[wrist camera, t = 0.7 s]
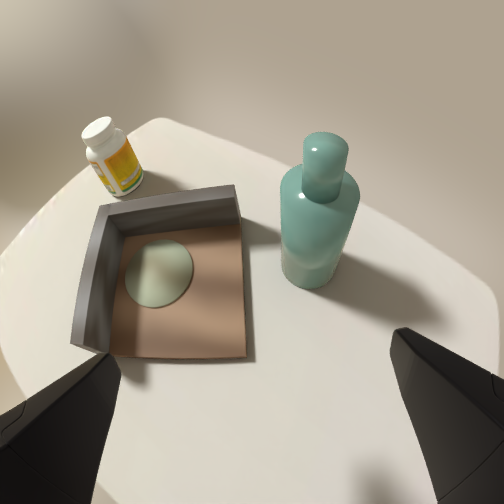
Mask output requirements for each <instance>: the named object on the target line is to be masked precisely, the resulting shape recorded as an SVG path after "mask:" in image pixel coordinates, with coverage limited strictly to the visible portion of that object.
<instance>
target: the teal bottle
mask: <svg viewBox="0 0 504 504" xmlns="http://www.w3.org/2000/svg"><path fill="white" fill-rule="evenodd" d="M347 155H348V144H347V143H346V141H345V140H344V139H342V138H341V137H339V136H338V135H335V134H333V133H328V132H316V133H312V134H310V135H308V136H307V137H306V138H305V140H304V147H303V164H300V165H297V166H295V167H293V168H292V169H290V170H289V171H288V172H287V173H286V174H285V175H284V177H283V179H282V181H281V185H280V200H281V265H282V270H283V273H284V275H285V277H286V278H287V279H288V280H289V281H290V282H291V283H292V284H294V285H295V286H297V287H300V288H304V289H315V288H319V287H321V286H323V285H325V284H326V283H328V282H329V281H330V280H331V278H332V277H333V275H334V272H335V270H336V267H337V265H338V262H339V259H340V256H341V254H342V251H343V248H344V245H345V243H346V240H347V237H348V234H349V231H350V228H351V225H352V222H353V219H354V216H355V213H356V210H357V207H358V204H359V200H360V191H359V187H358V185H357V183H356V181H355V180H354V179H353V177H352V176H351V175H350V174H349V173H347V172H346V171H345V165H346V160H347Z"/></svg>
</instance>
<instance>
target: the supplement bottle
mask: <svg viewBox="0 0 504 504" xmlns="http://www.w3.org/2000/svg"><path fill="white" fill-rule="evenodd" d="M82 139H83V141H84V142H85V144H86V145H87V146H88V147H87V150H86V156H87V159H88V160H89V162H90V164H91V165H92V167H93V169H94V170H95V172H96V173H97V175H98V176H99V178H100V180H101V181H102V183H103V184H104V186H105V187H106V189H107V190H108V191H109V193H110V194H111V195H113V196H124V195H126V194H129V193H130V192H132V191H133V190H134V189H136V188H137V187H138V186H139V185H140V183H141V181H142V179H143V175H144V173H143V170H142V168H141V166H140V164H139V161H138V159H137V157H136V155H135V153H134V151H133V149H132V147H131V145H130V143H129V141H128V139H127V137H126V135H125V133H124V132H123V131H122V130H120V129H115V124H114V122H113V120H112V119H111V117H102V118H99V119H97V120H95V121H94V122H92V123H91V124H90V125H88V126H87V127H86V128H85V130H84V131H83V133H82Z"/></svg>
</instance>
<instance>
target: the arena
mask: <svg viewBox="0 0 504 504" xmlns="http://www.w3.org/2000/svg"><path fill="white" fill-rule="evenodd" d="M70 344H73V345H75V346H78V347H80V348H83V349H85V350H88V351H91V352H93V353H96V354H98V353H100V352H105V353H111V354H112V355H113V356H116V357H131V358H151V359H226V358H247V348H246V327H245V304H244V281H243V257H242V231H241V214H240V210H239V205H238V200H237V195H236V191H235V186H234V184H233V185H225V186H217V187H209V188H201V189H194V190H187V191H180V192H174V193H167V194H161V195H155V196H149V197H143V198H138V199H132V200H127V201H121V202H116V203H111V204H106V205H101V206H99V209H98V213H97V216H96V219H95V222H94V226H93V229H92V233H91V236H90V240H89V244H88V248H87V252H86V256H85V260H84V264H83V269H82V273H81V278H80V283H79V288H78V293H77V299H76V305H75V311H74V317H73V324H72V332H71V341H70Z"/></svg>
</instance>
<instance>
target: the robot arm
mask: <svg viewBox="0 0 504 504" xmlns="http://www.w3.org/2000/svg"><path fill="white" fill-rule="evenodd" d="M390 357H391V361H392V364H393V367H394V371H395V374H396V378H397V381H398V385H399V389H400V392H401V396H402V398H403V401H404V404H405V406H406V409H407V411H408V414H409V417H410V419H411V422H412V425H413V427H414V430H415V433H416V436H417V438H418V441H419V444H420V447H421V450H422V453H423V456H424V459H425V462H426V465H427V468H428V471H429V475H430V478H431V481H432V485H433V488H434V492H435V495H436V499H437V501H438V502H437V503H438V504H504V379H502V378H500V377H498V376H496V375H494V374H491V373H490V372H489V371H487V370H485V369H483V368H481V367H480V366H478V365H476V364H474V363H472V362H470V361H469V360H467V359H465V358H463V357H461V356H459V355H458V354H456V353H454V352H452V351H450V350H448V349H446V348H445V347H443V346H441V345H439V344H437V343H435V342H434V341H432V340H430V339H428V338H426V337H424V336H422V335H421V334H419V333H417V332H415V331H413V330H411V329H409V328H407V327H404V328H399V329H396V330H395V331H394V332H393V336H392V342H391V347H390ZM120 380H121V371H120V368H119V367H118V365H117V363H116V361H115V359H114V357H113V355H112V354H111V353H105V352H100V353H98V354H97V355H95V356H94V357H92V358H90V359H89V360H87V361H86V362H84V363H83V364H81V365H80V366H78V367H77V368H75V369H73V370H72V371H70V372H69V373H67V374H66V375H64V376H63V377H61V378H60V379H58V380H56V381H55V382H53V383H52V384H50V385H49V386H47V387H46V388H44V389H42V390H41V391H39V392H38V393H36V394H35V395H33V396H32V397H30V398H28V399H27V400H26V401H24V402H22V403H21V404H19V405H17V406H16V407H14V408H13V409H11V410H9V411H8V412H6V413H4V414H2V415H0V504H91V501H92V496H93V491H94V487H95V482H96V478H97V473H98V469H99V465H100V461H101V457H102V453H103V450H104V446H105V442H106V439H107V435H108V431H109V428H110V425H111V421H112V418H113V414H114V410H115V405H116V400H117V395H118V390H119V385H120Z"/></svg>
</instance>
